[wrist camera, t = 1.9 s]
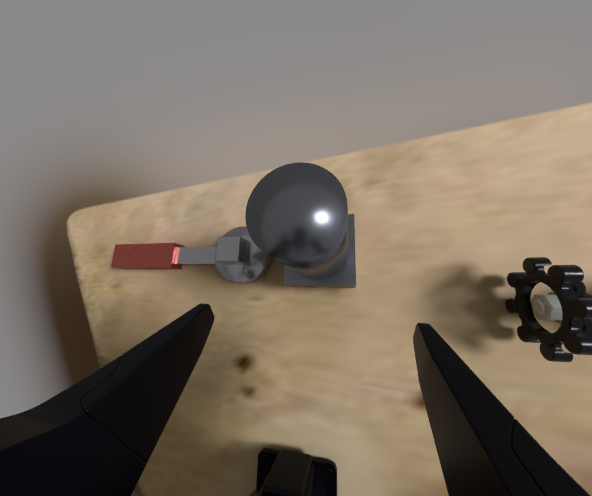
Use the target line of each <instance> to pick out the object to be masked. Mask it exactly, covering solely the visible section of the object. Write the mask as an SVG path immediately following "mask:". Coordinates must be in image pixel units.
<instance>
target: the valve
mask: <svg viewBox="0 0 592 496" xmlns="http://www.w3.org/2000/svg"><path fill="white" fill-rule="evenodd" d="M545 265H552V263H551V261H550V260H549V259H548V258H545V257H535V258H526V259H525V260H524V261H523V269H524V271H525V272H512V273H509V274H508V276H507V281H508V284H509V285H510V286H511V287H514V288H515V290H516V296H515V299H510V298H509V299H507V300H506V302H505V305H506V309H507V311H508V312H510V313H515V314H519V317H520V319H521V321H522V326H519V327H518V328H517V334H518V337H519V338H520V339H521V340H522V341H523V342H533V343H541V344H540V352H541V354H542V355H543V357H544V358H545V359H547V360H548V361H555V362H571V361H572V360H573V354H578V355H592V296H591V295H590V294H588V293H586V287H585V285H584V283H583V282H582V280H583V278H584V273H583V271H582V269H581V268H580V267H578V266H576V265H553V266H551V267H550V268H549V269H548V273H545V271H544V266H545ZM539 282H542V283H544V284H546V285H547V286H549V287H550V288H551V289H552V290H553V291H554V292H550V293H549V294H548V295H534V297H533V300H532V303H530V295H531V291H532V289H533V288H534V286H535V285H536V284H538V283H539ZM532 310H533V311H534V312H535V314H536V315H537V316H538V318H539V319H545V320H554V321H556V322H558V323H561V326H560V327H559V329H558V330H557V331H556V332H555V333H550V332H549V331H547V330H545V329H544V328H543V327H542V326H541V325H540V324H539V323H538V322H537V320H536V318H535V317H534V315H533V312H532ZM562 344H564V346H565V347H566V349H567V350H568V351H570V352H571V353H566V352H563V350H562V347H561V345H562ZM572 353H573V354H572Z"/></svg>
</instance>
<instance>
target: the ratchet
mask: <svg viewBox="0 0 592 496" xmlns="http://www.w3.org/2000/svg"><path fill="white" fill-rule="evenodd" d="M271 261H272V257H271V256H269V255H267V254H265V253H264V252H263V251H261V250H260V249H259V248H258V247H257V246H256V245H255V243H254V242H253V240H252V239H251V237H250V235H249V232H248V229H247V227H238V228H234V229H232V230H230V231H229V232H227V233H226V234H225V235H224V236H223V237H218V241H217V247H185V246H182V245H179V244H176V243H157V244H122V245H115V250H114V255H113V260H112V265H111V267H115V268H122V269H182V265H216V268H217V270H218V272H219V273H220V274H221V275H222V276H223V277H224V278H225V279H227V280H229V281H232V282H237V283H244V284H246V283H252V282H255V281H257V280H259V279H260V278H261V277H263V276H264V275H265V273H266V272H267V271H268V269H269V267H270V264H271Z"/></svg>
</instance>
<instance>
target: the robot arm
mask: <svg viewBox="0 0 592 496" xmlns="http://www.w3.org/2000/svg"><path fill="white" fill-rule="evenodd" d="M213 322H214V314H213V312H212V309H211V307H210V305H209V304H199V305H197V306H196V307H194V308H193V309H191V310H190V311H188V312H187V313H185V314H184V315H182V316H181V317H179V318H177V319H176V320H174V321H173V322H171V323H170V324H168V325H167V326H165V327H164V328H162V329H161V330H159V331H158V332H156V333H155V334H153V335H152V336H150V337H149V338H147V339H146V340H144V341H142V342H141V343H139V344H138V345H136V346H135V347H133V348H132V349H130V350H129V351H127V352H126V353H124V354H123V355H122V356H120V357H118V358H117V359H115V360H114V361H112V362H110V363H109V364H107V365H106V366H104V367H103V368H101V369H99V370H98V371H97V372H95V373H93V374H91V375H90V376H88V377H86V378H85V379H83V380H81V381H80V382H78V383H76V384H75V385H73V386H71V387H69V388H68V389H66V390H64V391H63V392H61V393H59V394H57V395H56V396H54V397H52V398H51V399H49V400H47V401H46V402H44V403H42V404H40V405H38V406H36V407H34V408H33V409H30V410H27V411H25V412H22V413H19V414H16V415H12V416H9V417H5V418H1V419H0V496H131V494H132V492H133V490H134V488H135V486H136V484H137V482H138V480H139V478H140V476H141V474H142V472H143V470H144V468H145V466H146V464H147V463H146V462H148V460H149V458H150V456H151V454H152V452H153V450H154V448H155V446H156V444H157V442H158V440H159V438H160V436H161V434H162V432H163V430H164V427H165V425H166V423H167V421H168V419H169V417H170V415H171V413H172V411H173V409H174V407H175V405H176V403H177V401H178V399H179V397H180V395H181V393H182V391H183V389H184V387H185V385H186V383H187V381H188V379H189V377H190V375H191V373H192V371H193V369H194V367H195V365H196V363H197V361H198V359H199V357H200V355H201V353H202V350H203V348H204V345H205V343H206V340H207V338H208V335H209V332H210V330H211V327H212V324H213ZM413 343H414V350H415V357H416V364H417V371H418V377H419V383H420V387H421V391H422V395H423V399H424V403H425V407H426V410H427V414H428V418H429V422H430V426H431V429H432V433H433V437H434V441H435V445H436V448H437V452H438V456H439V460H440V464H441V467H442V471H443V475H444V479H445V483H446V486H447V490H448V494H449V496H590V495H589V494H588V493H587V492H586V491H585V490H584V489H583V488H582V487H581V486H580V485H579V484H578V483H577V482H576V481H575V480H574V479H573V478H572V477H571V476H570V475H569V474H568V473H567V472H566V471H565V470H564V469H563V468H562V467H561V466H560V465H559V464H558V463H557V462H556V461H555V460H554V459H553V458H552V457H551V456H550V455H549V454H548V453H547V452H546V451H545V450H544V449H543V448H542V447H541V446H540V445H539V444H538V442H537V441H536V440H535V439H534V438H533V437H532V436H531V435H530V434H529V433H528V432H527V431H526V430H525V428H524V427H523V426H522V425H521V424H520V423H519V422H518V421H517V420H516V419H514V417H513V415H512V414H511V413H510V412H509V411H508V410H507V409H506V408H505V407H504V406H503V404H502V403H501V402H500V401H499V400H498V399H497V398H496V397H495V396H494V395H493V393H492V392H491V391H490V390H489V389H488V388H487V387H486V386H485V385H484V384H483V382H482V381H481V380H480V379H479V378H478V377H477V376H476V375H475V374H474V372H473V371H472V370H471V369H470V368H469V367H468V366H467V365H466V364H465V363H464V361H463V360H462V359H461V358H460V357H459V356H458V355H457V354H456V353H455V352H454V350H453V349H452V348H451V347H450V346H449V345H448V344H447V343H446V342H445V341H444V339H443V338H442V337H441V336H440V335H439V334H438V333H437V332H436V331H435V330H434V328H433V327H432V326H431V325H429V324H426V323H417V325H416V328H415V332H414V336H413ZM263 455H265V456H266V458H267V459H265V458H264V457H263ZM328 468H332V469H333V471H332V472H330V471H329V470H328ZM249 496H337V467H336V465H335V463H334V462H333V461H330V460H325V459H320V458H315V457H311V456H310V455H308V454H303V453H298V452H292V451H287V450H281V451H277V450H272V449H267V448H264V449H262V450H261V452H260V453H259V456H258V469H257V486H256V490H254V491H253V492H252V493H251V494H250V495H249Z"/></svg>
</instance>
